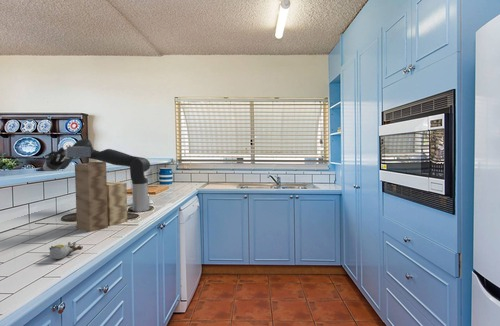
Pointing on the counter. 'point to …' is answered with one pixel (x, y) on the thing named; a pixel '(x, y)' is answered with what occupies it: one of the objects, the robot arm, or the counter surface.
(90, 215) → the stand
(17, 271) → the counter surface
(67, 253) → the toy
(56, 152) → the robot arm
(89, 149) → the bar
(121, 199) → the tan wooden block
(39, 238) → the counter surface
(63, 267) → the counter surface
